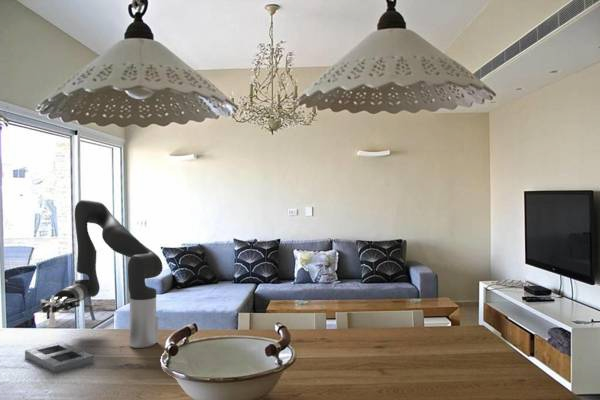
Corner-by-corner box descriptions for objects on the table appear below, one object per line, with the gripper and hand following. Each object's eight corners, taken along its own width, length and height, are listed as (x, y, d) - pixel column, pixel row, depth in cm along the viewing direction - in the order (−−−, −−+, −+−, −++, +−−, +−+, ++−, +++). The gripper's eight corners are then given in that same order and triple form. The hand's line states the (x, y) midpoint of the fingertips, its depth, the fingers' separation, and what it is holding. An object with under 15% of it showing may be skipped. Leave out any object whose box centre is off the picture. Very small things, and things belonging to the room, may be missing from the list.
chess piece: (63, 323, 151) (64, 294, 150) (54, 327, 146) (54, 297, 146) (50, 322, 151) (50, 293, 151) (40, 327, 146) (40, 296, 146)
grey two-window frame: (62, 348, 157) (62, 341, 157) (93, 363, 143) (93, 355, 143) (24, 357, 147) (25, 350, 147) (54, 374, 134) (55, 366, 134)
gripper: (49, 287, 162) (26, 298, 144) (89, 287, 163) (71, 298, 146) (49, 307, 162) (26, 321, 144) (88, 307, 163) (70, 320, 146)
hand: (48, 309), depth 145 cm, fingers closed on chess piece
